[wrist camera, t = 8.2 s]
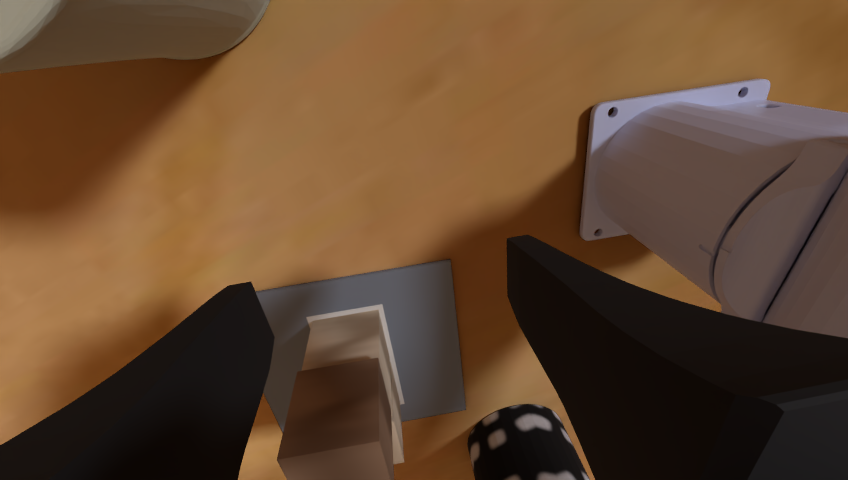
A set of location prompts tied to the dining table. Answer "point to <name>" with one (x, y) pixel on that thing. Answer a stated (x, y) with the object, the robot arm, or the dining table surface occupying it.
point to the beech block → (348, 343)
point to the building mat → (402, 324)
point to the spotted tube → (523, 446)
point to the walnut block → (338, 425)
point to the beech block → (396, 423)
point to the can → (119, 30)
